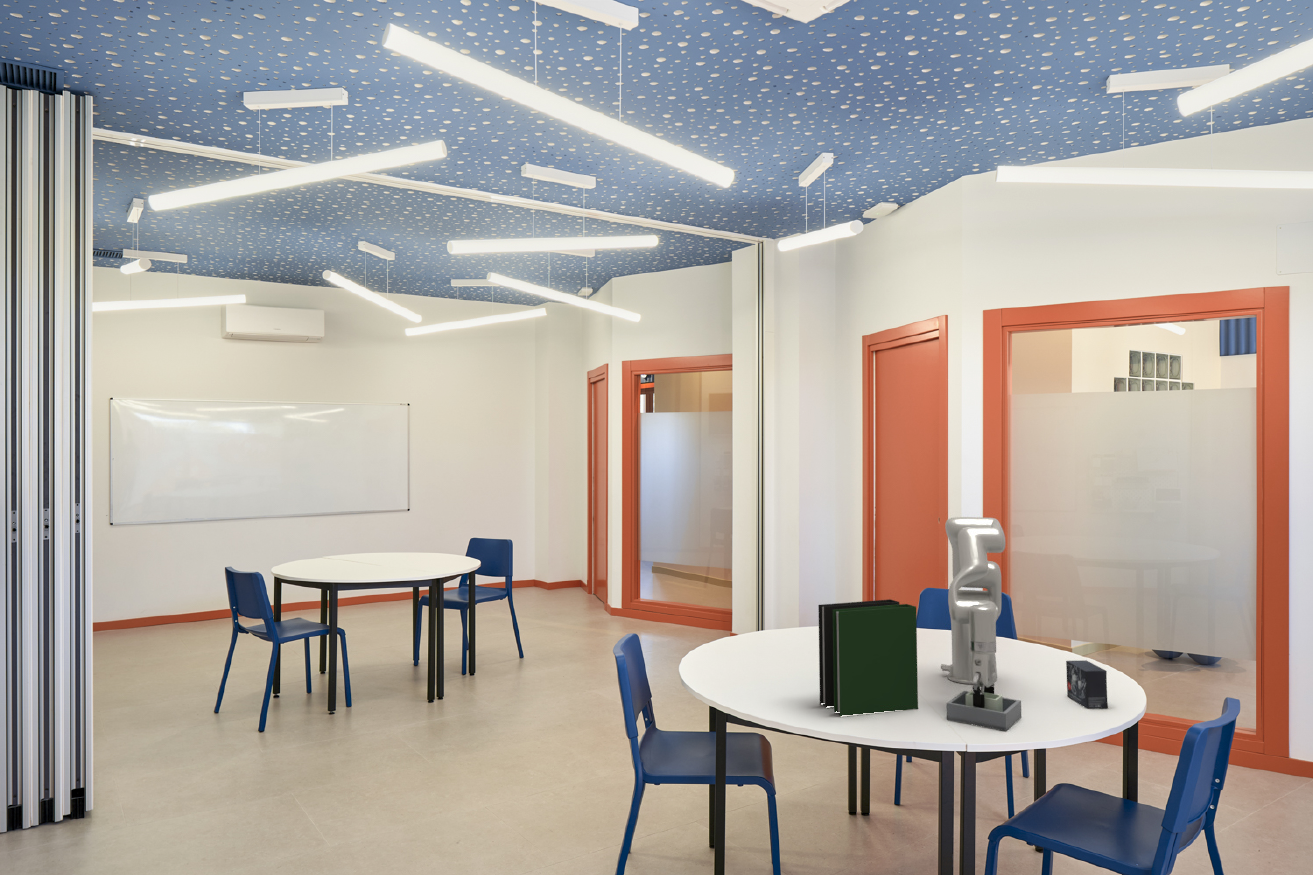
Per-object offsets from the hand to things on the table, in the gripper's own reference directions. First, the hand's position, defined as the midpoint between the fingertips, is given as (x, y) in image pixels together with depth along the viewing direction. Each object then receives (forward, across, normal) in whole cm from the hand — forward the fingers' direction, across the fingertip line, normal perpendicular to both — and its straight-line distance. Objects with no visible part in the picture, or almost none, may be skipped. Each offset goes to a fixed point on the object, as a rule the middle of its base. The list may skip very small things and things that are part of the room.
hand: (983, 703), depth 242 cm
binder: (+5, -10, +33) cm, 35 cm away
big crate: (+4, 0, 0) cm, 4 cm away
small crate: (+4, 0, 0) cm, 4 cm away
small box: (+5, +36, -21) cm, 42 cm away
